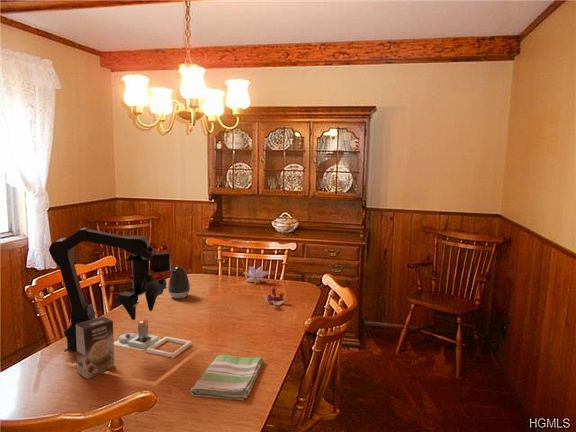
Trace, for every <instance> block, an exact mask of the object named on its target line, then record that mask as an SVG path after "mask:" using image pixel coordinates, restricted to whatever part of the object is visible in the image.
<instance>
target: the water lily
mask: <svg viewBox="0 0 576 432" xmlns="http://www.w3.org/2000/svg"><path fill="white" fill-rule="evenodd" d="M248 269H249V270H248V272H242V273H243V274H244V275H245V276H247V277H249V278H247V279H246V280H245V282H251V281H254V286H255V287H257V280H258V281H259V282H262V283H263V282H266V279H265V278H263V277H265V276H267V275H268V274H269V273H270V271H265V270H263V269H264V266H263V265H261V266H260V267H258V268H255V267H254V266H248Z"/></svg>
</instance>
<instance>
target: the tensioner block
mask: <svg viewBox="0 0 576 432" xmlns="http://www.w3.org/2000/svg"><path fill="white" fill-rule="evenodd" d="M161 339H162V338H160V336H159V335H153V334H149V340H148V341H146V342H140V341H138V333H133V332H128V333H123V334H121V335H119V336H118V340H116V341H114V346H119V347H123V348H129V349H134V350H137V351H144V352H145V351H146V349H147V348H148V347H150V346H152V345H153V344H155V343H156V342H158V341H160V340H161Z"/></svg>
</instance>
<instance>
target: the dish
mask: <svg viewBox="0 0 576 432" xmlns="http://www.w3.org/2000/svg"><path fill="white" fill-rule="evenodd" d="M160 339H161V340H160V341H158V342H156V343H155V344H153V345H152V346H150V347H148V348H147V349H146V350H145V353H149V354H152V355H157V356H163V357H166V358H167V357H168V358H173V359H174V358H175V357H176V356H178V355H179V354H180V353H183V352H184V351H185V350H187V349H188V348H189V347H190V346H191V345H193V342H192V340H187V339H182V338H176V337H171V336H164V337H163V338H160ZM166 342H169V343H176V344H181V345H182V346H180V347H179V348H177V349H176V350H175V351H173V352H171V351H166V350H161V349H157V348H158V347H160V346H161V345H162V344H164V343H166Z"/></svg>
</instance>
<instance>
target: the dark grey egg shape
mask: <svg viewBox="0 0 576 432" xmlns="http://www.w3.org/2000/svg"><path fill="white" fill-rule="evenodd" d="M168 280H169V281H168V287H167V291H168V293H169V296H170V297H171V298H173V299H175V300H176V299H177V300H179V299H180V300H181V299H184V298H186V297H187V296H188V295H189V292H190V290H191V285H190V279H189V276H188V273H187V271H186V269H185V268H184V267H183V266H180V265H177V266H175V267H174V268H173V269H171V272H170V276H169V279H168Z"/></svg>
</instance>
